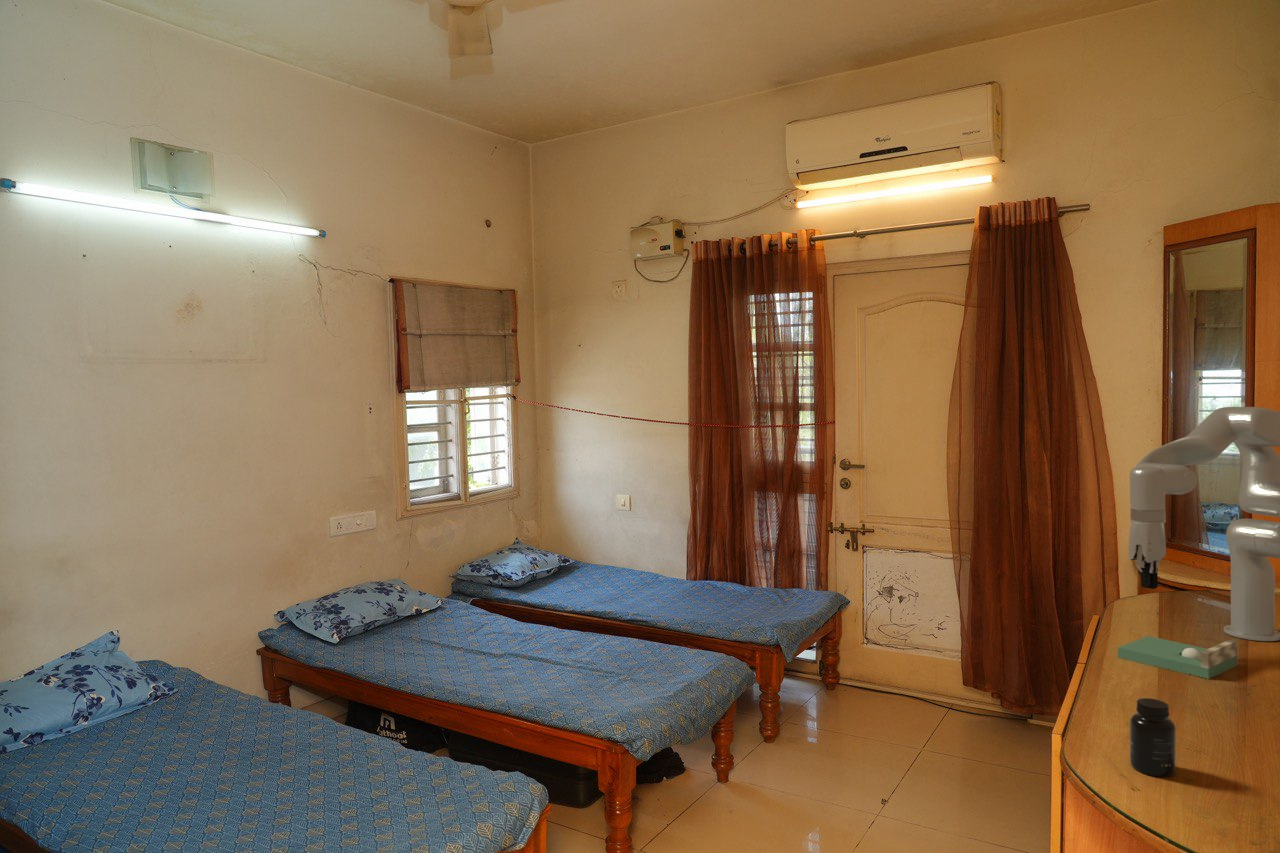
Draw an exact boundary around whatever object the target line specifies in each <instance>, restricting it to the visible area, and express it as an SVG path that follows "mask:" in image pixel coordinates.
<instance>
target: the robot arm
mask: <svg viewBox="0 0 1280 853" xmlns="http://www.w3.org/2000/svg"><path fill="white" fill-rule="evenodd" d="M1232 444H1234V445H1235V447H1236V448H1237V449H1238V451H1239V453H1240V455H1241V457H1242V470H1241V471H1242V472H1241V478H1240V483H1239V484H1240V485H1239V492H1238V493H1239V494H1238V505H1239V508H1240V509H1241V510H1242V511H1244V512H1246V513H1248V514H1253V515H1260V516H1267V517H1275V518H1280V455H1279V453H1278V452H1277V450H1276V449H1275V448H1274V447H1279V448H1280V411H1278V410H1274V409H1270V408H1267V407H1266V408H1264V407H1260V406H1259V407H1258V406H1224V407H1218V408H1217V409H1215V410H1213V411H1212V412H1211V413H1210V414H1209V415H1208V416H1207V417H1206V418H1205V419H1204V420H1202V422H1200V423H1199V424H1198V425H1196V427H1195V428H1194V429H1193V430H1192V431H1191V432H1190V433H1189V434H1187V435H1186V436H1183V437H1181V438H1178V439H1175V440H1173V441H1171V442H1167V443H1166V444H1164V445H1161V446H1158V447H1156V448H1155V449H1152V450H1150V452H1148V453H1147V454H1146V455H1145V456H1144V457H1143V458H1141V460H1140V461H1138V463H1137V464H1136V466H1135V467H1132V469H1131V470H1130V471H1129V502H1130V503H1129V504H1130V506H1129V508H1130V522H1131V523H1130V528H1129V537H1128V538H1129V539H1128V559H1129V560H1130V561H1136V564H1135V566H1136V568H1139V572H1140V585H1141V588H1144V589H1151V590H1155V589H1158V587H1159V584H1158V583H1159V579H1158V578H1159V577H1158V572H1159V564H1160V563H1161V562H1162V559H1163V558H1165V557H1166V554H1167V540H1166V528H1165V524H1166V522H1167V520H1166V517H1167V516H1166V514H1167V513H1166V495H1184V494H1188V493H1190V492H1191V491H1192V490H1193V489H1194V488H1195V487H1196V485H1197V481H1198V480H1197V475H1196V473H1195V472H1194V470H1193V469H1191V468H1190V467H1188V466H1195V465H1201V464H1204V463H1208V462H1211V461H1214V460H1216V459H1217V458H1218V457H1220V455H1221V454H1222V453H1223V452H1224V451H1225V450H1226V449H1227V448H1228V447H1229V446H1231V445H1232ZM1225 532H1226V533H1225V534H1226V543H1227V546H1228V551H1229V556H1230V624H1227V625H1225V626H1224V627H1223V632H1224V633H1225V634H1227V635H1229V636H1231V637H1233V638H1234V637H1235V638H1239V639H1243V640H1249V641H1259V642H1276V641H1278V642H1279V641H1280V632H1279V631H1278V630H1276V628H1275V626H1276V625H1275V624H1276V623H1275V622H1276V617H1275V616H1276V615H1275V614H1276V611H1275V608H1276V606H1275V605H1276V603H1275V602H1276V599H1275V598H1276V594H1275V593H1276V591H1275V589H1276V583H1275V582H1276V575H1275V568H1274V567H1273V565H1272V563H1271V561H1270V560H1269V558H1274V559H1280V521H1272V520H1271V521H1270V520H1265V519H1264V520H1263V519H1255V518H1240V519H1235V520H1233V521H1232V522H1230V523H1229V525H1228V526H1227V529H1226V531H1225Z"/></svg>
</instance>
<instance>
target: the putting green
mask: <svg viewBox="0 0 1280 853" xmlns="http://www.w3.org/2000/svg"><path fill="white" fill-rule="evenodd" d="M1186 648H1194V649H1196V650H1197V651H1199V653H1200V654H1201V652H1202V651H1205V650H1207V649H1208V648H1205V647H1201V646H1196V645H1192V644H1188V643H1184V642H1183V643H1181V642H1178V641H1172V640H1169V639H1164V638H1159V637H1154V636H1149V635H1147V636H1144V637H1142V638H1139V639H1136V640H1134V641H1131V642H1129V643H1126V644H1123V645H1121V646H1118V647H1117V658H1119V659H1123V660H1128V661H1132V662H1137V663H1141V664H1144V665H1147V664H1148V665H1147V666H1151V667H1152V666H1153V667H1156V666H1157V668H1161V669H1164V670H1168V669H1169V670H1168V671H1172V670H1173V672H1176V671H1177V672H1178V673H1180V674H1185V673H1186V674H1185V675H1189V674H1191V675H1190V676H1193V675H1196V676H1195V677H1197V676H1200V677H1199V678H1201V677H1203V678H1202V679H1205V678H1207V679H1206V680H1210V679H1212V678H1214V677H1216V676H1218V675H1220V674H1222V673H1224V672H1226V671H1229V670H1231V669H1233V668H1234V667H1237V666H1238V654H1237V655H1236V656H1234V657H1232V658H1230V659H1228V660H1226V661H1224V662H1221V663H1219V664H1217V665H1215V666H1213V667H1211V668H1209V669H1208V668H1204V667H1201V660H1197V659H1192V658H1188V657H1184V656H1182V652H1183V650H1184V649H1186ZM1177 672H1176V673H1177ZM1211 677H1212V678H1211ZM1209 678H1210V679H1209Z"/></svg>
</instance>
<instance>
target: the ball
mask: <svg viewBox="0 0 1280 853" xmlns="http://www.w3.org/2000/svg"><path fill="white" fill-rule="evenodd" d="M1182 656H1184V657H1188V658H1192V659H1197V660H1201V654H1200V653H1199V651H1197V650H1196V649H1194V648H1186V649H1184V650H1183V652H1182Z"/></svg>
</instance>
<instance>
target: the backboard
mask: <svg viewBox="0 0 1280 853" xmlns="http://www.w3.org/2000/svg"><path fill="white" fill-rule="evenodd" d="M1206 649H1207V650H1205V651H1202V652H1201V667H1204V668H1208V669H1209V668H1211V667H1213V666H1215V665H1217V664H1219V663H1221V662H1224V661H1226V660H1228V659H1230V658H1232V657H1234V656H1236V655H1237V656H1238V640H1235V639H1228V640H1225V641H1223V642H1221V643H1219V644H1216V645H1213V646H1212V647H1209V648H1206Z"/></svg>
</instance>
